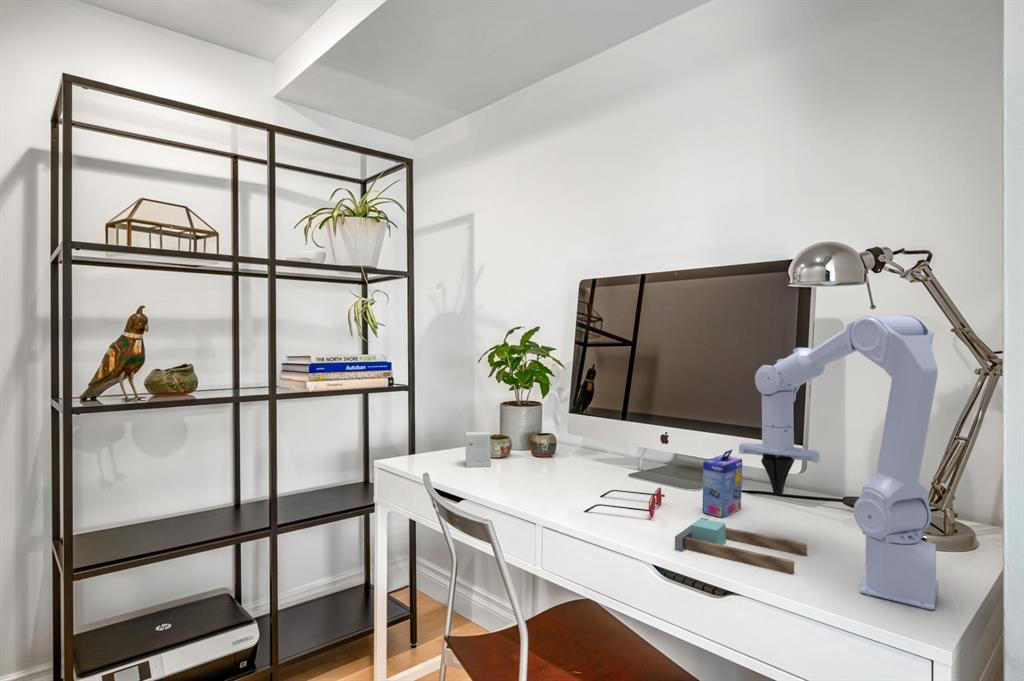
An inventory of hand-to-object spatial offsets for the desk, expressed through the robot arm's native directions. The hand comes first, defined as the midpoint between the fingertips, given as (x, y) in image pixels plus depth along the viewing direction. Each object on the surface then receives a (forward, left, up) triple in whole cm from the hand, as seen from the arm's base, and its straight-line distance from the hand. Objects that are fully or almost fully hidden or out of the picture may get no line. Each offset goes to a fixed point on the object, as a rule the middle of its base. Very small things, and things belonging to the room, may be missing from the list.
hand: (778, 493), depth 112 cm
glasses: (+35, -1, -10) cm, 36 cm away
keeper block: (+11, +10, -10) cm, 17 cm away
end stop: (+14, +10, -9) cm, 19 cm away
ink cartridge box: (+15, -12, -10) cm, 22 cm away
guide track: (+4, +10, -9) cm, 14 cm away
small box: (+93, -13, -10) cm, 94 cm away
